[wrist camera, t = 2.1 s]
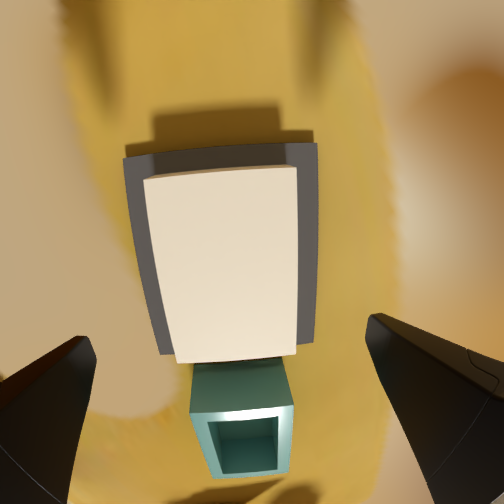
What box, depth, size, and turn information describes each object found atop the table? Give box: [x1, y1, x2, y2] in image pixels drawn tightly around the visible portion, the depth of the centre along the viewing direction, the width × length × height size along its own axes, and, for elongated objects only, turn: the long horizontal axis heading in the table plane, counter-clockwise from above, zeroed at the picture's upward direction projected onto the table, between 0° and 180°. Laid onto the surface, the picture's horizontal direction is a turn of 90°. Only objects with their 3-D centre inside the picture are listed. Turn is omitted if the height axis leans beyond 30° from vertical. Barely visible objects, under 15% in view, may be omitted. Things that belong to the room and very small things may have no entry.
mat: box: [123, 143, 318, 355], centre depth 15 cm, size 9×11×1 cm
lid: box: [143, 165, 298, 363], centre depth 13 cm, size 6×9×2 cm, turn 3°
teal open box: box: [189, 358, 294, 479], centre depth 17 cm, size 5×8×4 cm, turn 3°
